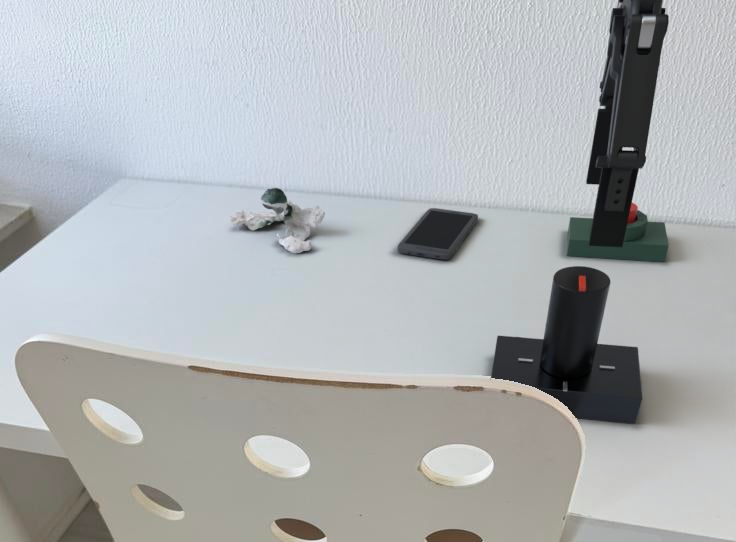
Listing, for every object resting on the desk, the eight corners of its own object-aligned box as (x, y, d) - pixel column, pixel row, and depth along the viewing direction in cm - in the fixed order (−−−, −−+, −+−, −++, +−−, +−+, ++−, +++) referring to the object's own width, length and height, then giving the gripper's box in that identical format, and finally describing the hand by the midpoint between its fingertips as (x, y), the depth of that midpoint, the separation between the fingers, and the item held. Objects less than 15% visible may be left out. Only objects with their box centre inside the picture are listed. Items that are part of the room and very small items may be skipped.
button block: (660, 238, 101) (668, 208, 99) (664, 262, 96) (672, 231, 94) (567, 233, 104) (572, 203, 101) (566, 255, 99) (571, 225, 96)
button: (634, 214, 98) (637, 201, 97) (635, 226, 96) (638, 212, 95) (605, 213, 99) (607, 199, 98) (605, 224, 97) (608, 211, 95)
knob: (540, 348, 77) (554, 261, 71) (591, 352, 76) (610, 264, 70) (539, 376, 74) (553, 286, 67) (592, 380, 73) (612, 290, 66)
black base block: (631, 371, 79) (638, 344, 77) (635, 424, 73) (643, 397, 71) (494, 359, 82) (497, 333, 79) (486, 409, 75) (489, 382, 73)
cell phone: (395, 252, 101) (395, 247, 100) (429, 212, 110) (429, 206, 109) (449, 261, 98) (449, 255, 98) (479, 218, 107) (479, 213, 107)
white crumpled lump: (345, 222, 105) (319, 186, 98) (318, 274, 105) (291, 242, 98) (264, 200, 112) (235, 166, 105) (239, 249, 112) (208, 218, 105)
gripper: (742, -58, 45) (657, 278, 60) (693, -106, 63) (637, 163, 77) (610, -56, 46) (558, 273, 61) (598, -104, 64) (561, 160, 79)
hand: (602, 212), depth 69 cm, fingers open, 13 cm apart
